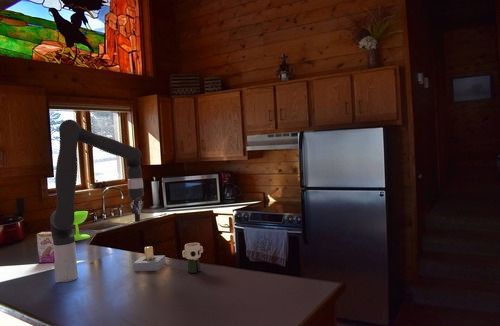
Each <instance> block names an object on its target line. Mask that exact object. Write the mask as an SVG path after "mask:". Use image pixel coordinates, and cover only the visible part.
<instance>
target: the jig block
mask: <svg viewBox="0 0 500 326" xmlns="http://www.w3.org/2000/svg"><path fill="white" fill-rule="evenodd" d="M153 257H154V260H153V261H145V255H143V256H141V257H140V258H138V259H137V260H136V261H134V262H133V272H149V271H150V272H151V271H153V272H154V271H159V270H160V269H161V268H162V267H163V266H165V264H166V263H167V262H166V255H153Z"/></svg>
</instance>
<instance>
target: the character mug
mask: <svg viewBox="0 0 500 326" xmlns="http://www.w3.org/2000/svg"><path fill="white" fill-rule="evenodd" d="M181 252H182V253H181V254H182V258H185V259H187V265H186V267H187V268H186V269H187V272H188V273H190V274H191V273H192V274H193V273H199V272H201V271H202V270H201V269H202V268H201V264H200V263H201V262H200V260H199V258H201V255H202V254H203V252H204V248H203V246H202V245H201V243H200V242H189V243H186V244H184V250H182V251H181Z"/></svg>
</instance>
